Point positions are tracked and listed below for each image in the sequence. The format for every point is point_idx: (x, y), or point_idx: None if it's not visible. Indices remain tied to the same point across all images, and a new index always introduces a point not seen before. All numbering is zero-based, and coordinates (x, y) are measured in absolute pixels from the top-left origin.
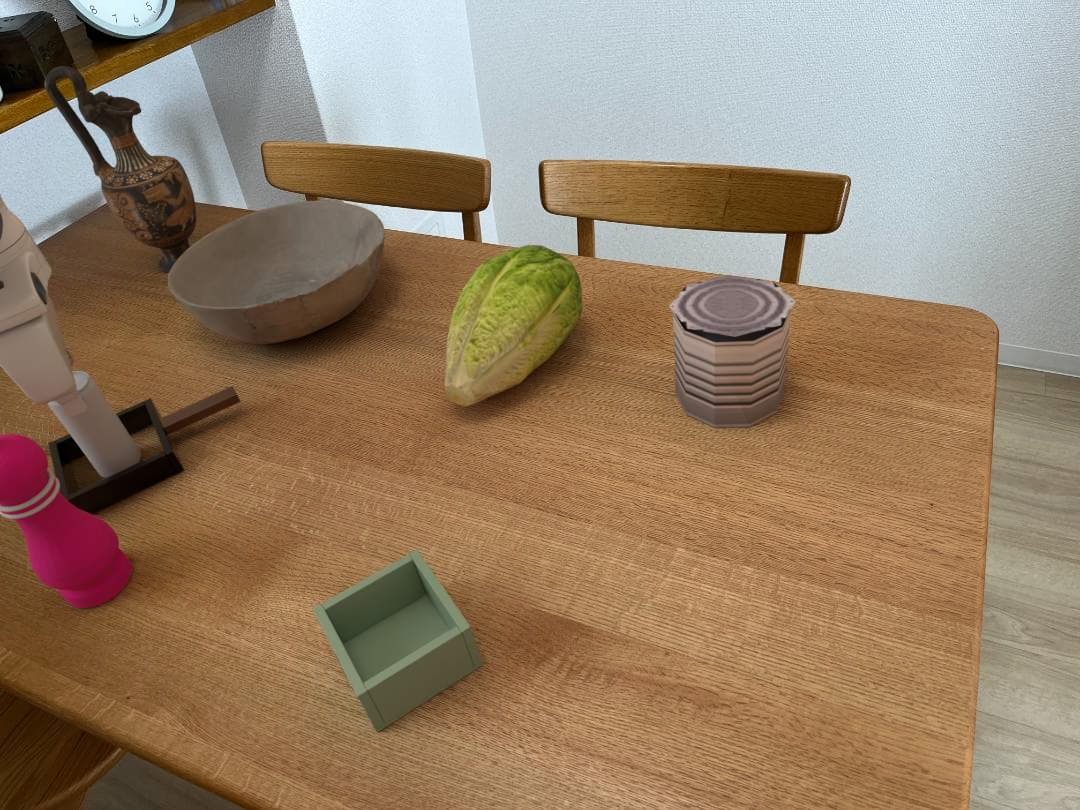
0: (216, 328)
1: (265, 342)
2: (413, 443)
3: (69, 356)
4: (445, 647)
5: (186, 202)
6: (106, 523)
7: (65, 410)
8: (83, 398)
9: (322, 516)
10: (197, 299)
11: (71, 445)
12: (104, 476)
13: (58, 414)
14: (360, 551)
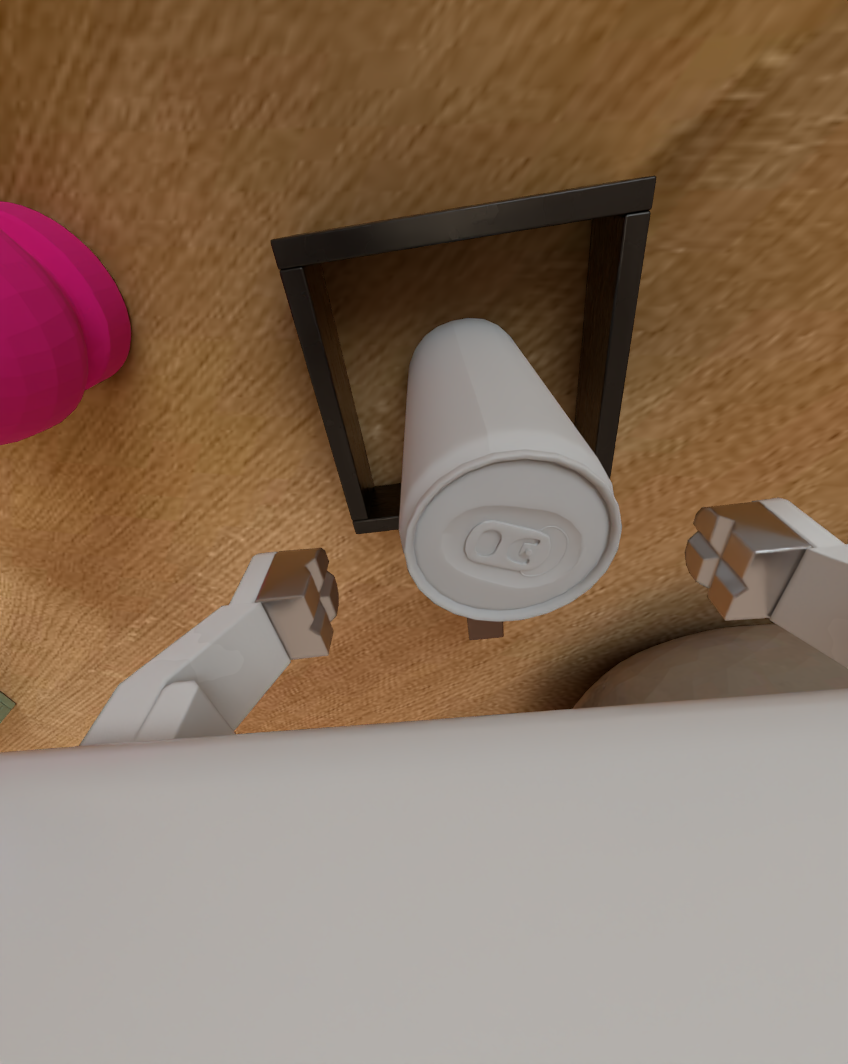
0: (668, 686)
1: (594, 685)
2: (268, 729)
3: (709, 596)
4: None
5: None
6: (19, 439)
7: (242, 577)
8: (336, 612)
9: (161, 647)
10: None
11: (608, 256)
12: (421, 341)
13: (433, 433)
14: (83, 667)
